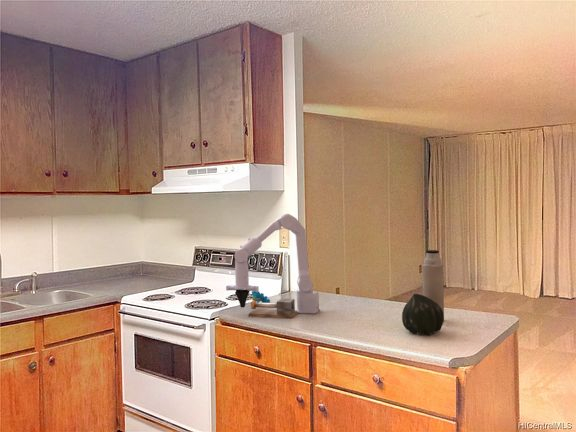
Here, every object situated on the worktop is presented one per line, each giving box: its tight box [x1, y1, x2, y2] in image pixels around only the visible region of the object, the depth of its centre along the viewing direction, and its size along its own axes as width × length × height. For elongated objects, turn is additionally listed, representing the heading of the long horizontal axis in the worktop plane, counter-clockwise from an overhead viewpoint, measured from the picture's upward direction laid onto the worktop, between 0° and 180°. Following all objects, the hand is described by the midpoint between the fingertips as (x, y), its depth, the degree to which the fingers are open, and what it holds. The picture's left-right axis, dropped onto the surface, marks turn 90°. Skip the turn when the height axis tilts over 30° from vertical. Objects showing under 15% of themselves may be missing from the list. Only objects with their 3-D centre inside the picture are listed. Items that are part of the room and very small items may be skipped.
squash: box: [401, 293, 445, 336], centre depth 172 cm, size 14×15×15 cm
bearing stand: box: [247, 297, 299, 319], centre depth 204 cm, size 20×9×6 cm, turn 74°
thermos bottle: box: [421, 249, 445, 315], centre depth 188 cm, size 8×8×28 cm
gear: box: [251, 290, 271, 303], centre depth 223 cm, size 11×6×10 cm
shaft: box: [250, 300, 277, 310], centre depth 204 cm, size 13×4×4 cm, turn 74°
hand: (242, 306), depth 208 cm, fingers closed
